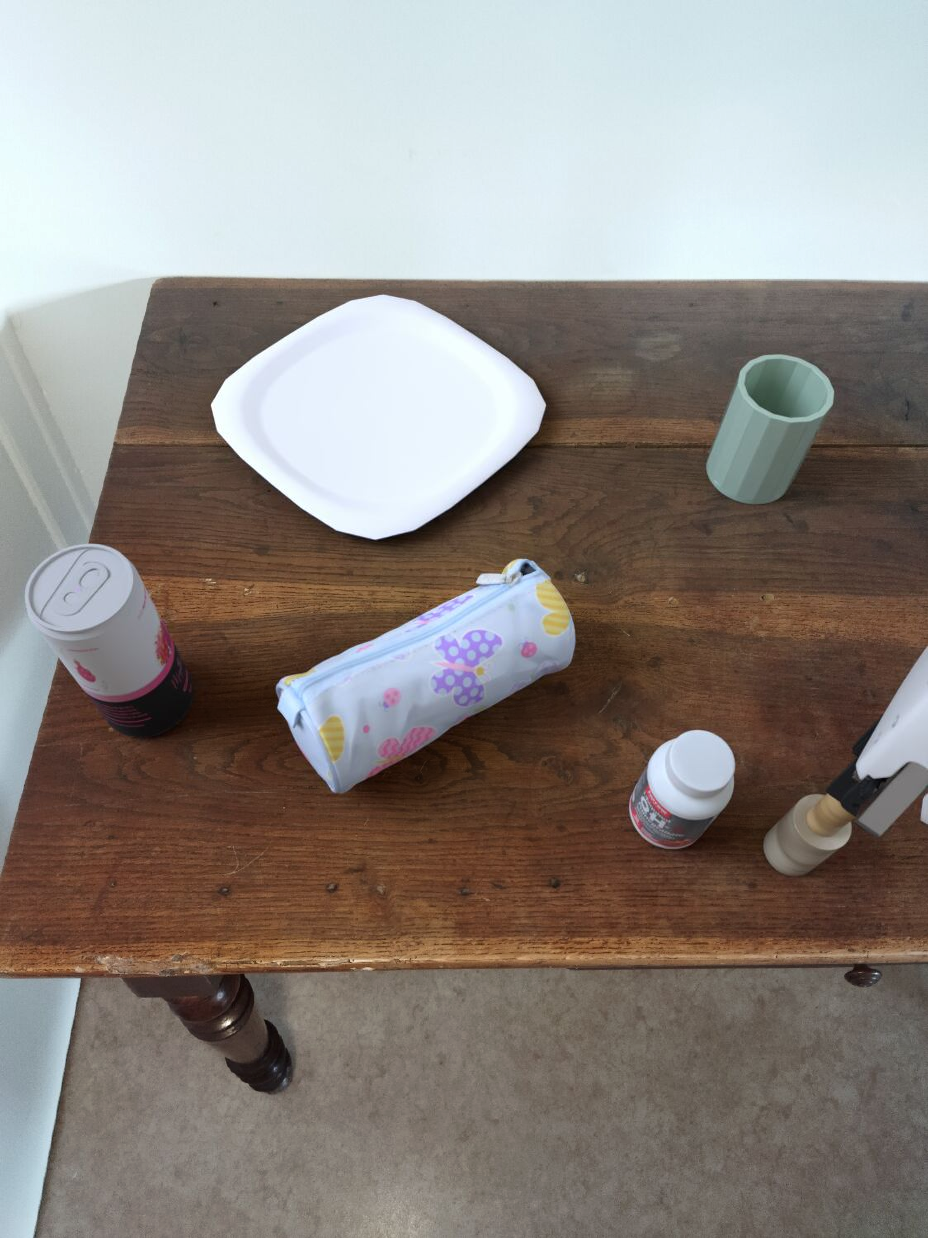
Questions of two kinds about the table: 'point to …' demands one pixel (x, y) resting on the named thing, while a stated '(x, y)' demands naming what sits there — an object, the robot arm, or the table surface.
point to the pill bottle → (683, 789)
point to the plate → (378, 415)
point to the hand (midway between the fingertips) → (866, 783)
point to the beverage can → (110, 638)
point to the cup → (768, 428)
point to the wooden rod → (807, 834)
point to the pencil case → (427, 675)
